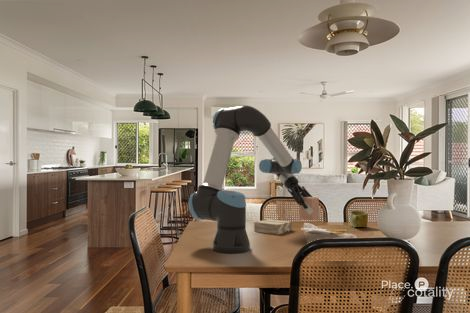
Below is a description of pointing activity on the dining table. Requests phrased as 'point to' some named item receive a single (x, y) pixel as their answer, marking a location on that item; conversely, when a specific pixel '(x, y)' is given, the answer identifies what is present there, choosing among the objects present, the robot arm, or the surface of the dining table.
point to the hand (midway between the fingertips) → (315, 212)
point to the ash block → (273, 226)
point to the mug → (358, 219)
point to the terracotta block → (314, 205)
